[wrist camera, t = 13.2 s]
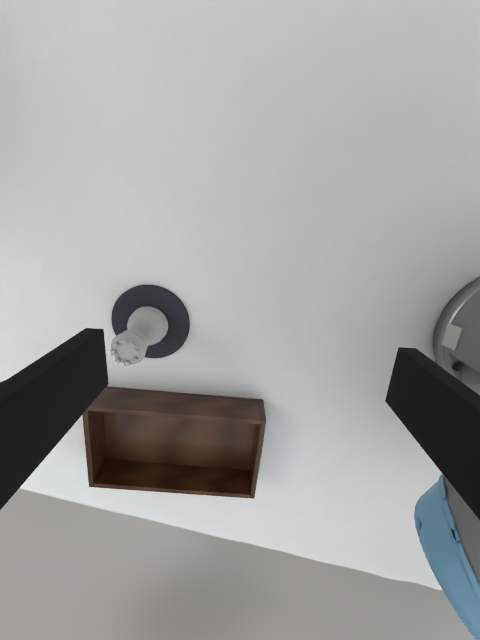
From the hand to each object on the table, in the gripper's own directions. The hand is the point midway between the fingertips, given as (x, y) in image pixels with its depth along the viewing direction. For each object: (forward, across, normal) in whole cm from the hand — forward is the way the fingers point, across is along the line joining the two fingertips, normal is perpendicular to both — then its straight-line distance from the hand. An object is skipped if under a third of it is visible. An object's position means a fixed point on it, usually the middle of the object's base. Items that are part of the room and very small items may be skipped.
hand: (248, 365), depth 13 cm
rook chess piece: (+20, -11, -6) cm, 24 cm away
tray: (+21, -8, -21) cm, 31 cm away
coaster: (+21, -11, -6) cm, 24 cm away
